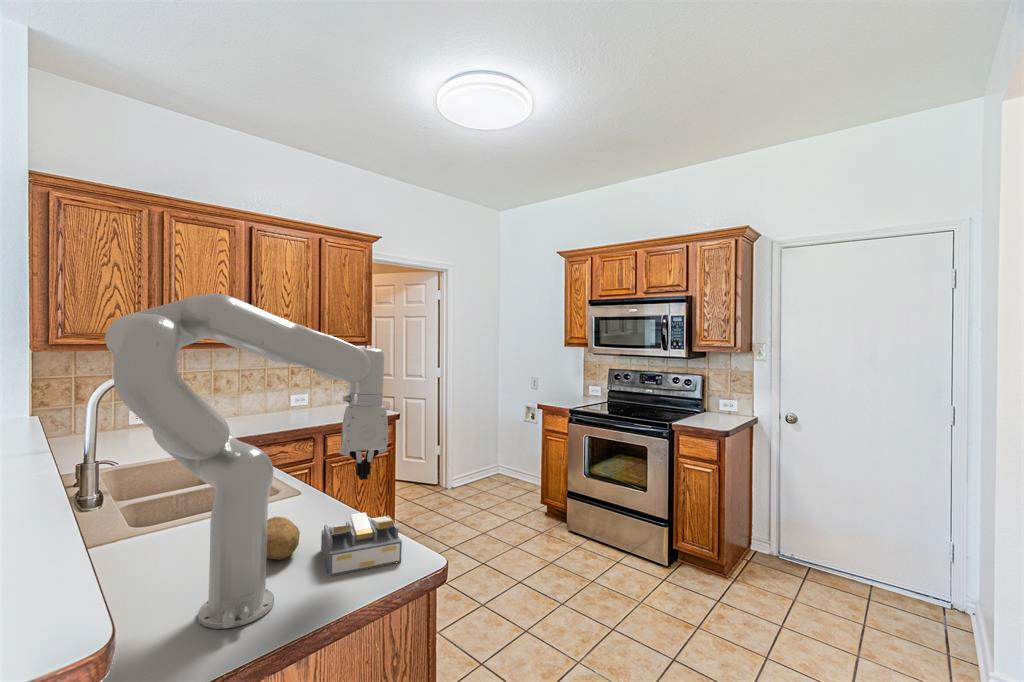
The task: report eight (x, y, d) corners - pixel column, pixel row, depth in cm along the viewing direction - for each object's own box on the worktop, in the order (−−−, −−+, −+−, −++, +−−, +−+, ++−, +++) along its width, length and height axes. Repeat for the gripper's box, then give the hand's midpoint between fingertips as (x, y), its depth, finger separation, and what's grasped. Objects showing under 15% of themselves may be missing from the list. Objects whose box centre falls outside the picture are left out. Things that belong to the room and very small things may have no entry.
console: (401, 562, 113) (402, 532, 113) (329, 577, 105) (330, 544, 105) (386, 539, 126) (387, 511, 125) (321, 550, 118) (321, 521, 118)
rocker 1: (350, 531, 110) (350, 524, 111) (334, 533, 109) (333, 527, 109) (344, 530, 117) (344, 524, 117) (328, 533, 115) (328, 527, 116)
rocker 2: (372, 537, 113) (372, 532, 113) (356, 540, 111) (356, 534, 111) (365, 517, 120) (365, 512, 120) (350, 519, 118) (350, 514, 118)
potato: (256, 574, 106) (257, 538, 106) (252, 548, 118) (253, 516, 118) (304, 564, 111) (305, 530, 111) (296, 541, 123) (297, 510, 123)
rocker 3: (393, 526, 115) (393, 520, 115) (378, 529, 113) (378, 522, 114) (385, 522, 122) (385, 516, 122) (371, 524, 120) (370, 518, 121)
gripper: (334, 403, 106) (331, 486, 106) (401, 401, 113) (398, 479, 113) (330, 399, 113) (327, 477, 113) (393, 397, 120) (390, 471, 120)
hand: (362, 478), depth 113 cm, fingers closed
